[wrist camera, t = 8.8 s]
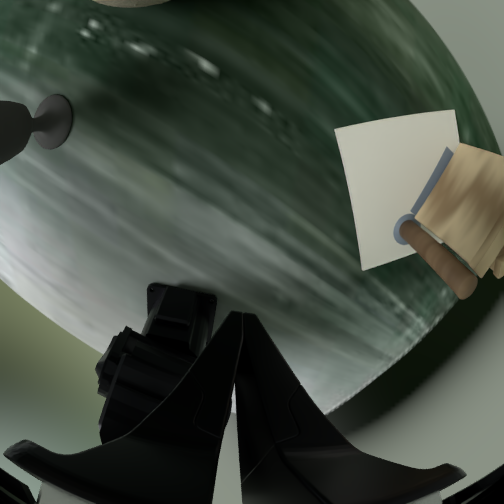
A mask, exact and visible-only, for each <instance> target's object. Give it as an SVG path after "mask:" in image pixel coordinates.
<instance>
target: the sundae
mask: <svg viewBox="0 0 504 504" xmlns="http://www.w3.org/2000/svg"><path fill="white" fill-rule="evenodd" d="M71 123H72V112H71V108H70V105H69V103H68V101H67V100H66V99H65V98H64V97H63V96H61V95H51V96H49V97H47V98H46V99H44V100H43V101H42V102H41V104H40V105H39V107H38V108H37V111H36V113H35V115H34V118H32V117H31V115H30V112H29V110H28V109H27V107H26V106H25V105H23V104H20V103H16V102H11V101H0V165H1V164H3V163H4V162H6V161H8V160H10V159H11V158H13V157H14V156H16V155H17V154H19V153H20V152H21V151H22V150H23V149H24V148H25V147H26V145H27V143H28V140H29V138H30V136H31V133H32V132H33V133H34V136H35V139H36V141H37V142H38V143H39V145H41V146H42V147H43V148H45V149H54V148H57V147H58V146H60V145H61V144H62V143H63V142H64V140H65V139H66V137H67V135H68V133H69V131H70V127H71Z"/></svg>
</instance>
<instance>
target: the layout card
mask: <svg viewBox="0 0 504 504" xmlns="http://www.w3.org/2000/svg"><path fill="white" fill-rule="evenodd" d="M334 130H335V134H336V138H337V142H338V146H339V150H340V154H341V158H342V162H343V166H344V170H345V175H346V179H347V184H348V189H349V194H350V199H351V204H352V209H353V215H354V220H355V226H356V232H357V238H358V245H359V252H360V259H361V267H362V270H363V271H364V270H367V269H370V268H373V267H376V266H379V265H382V264H385V263H388V262H391V261H394V260H397V259H400V258H402V257H405V256H408V255H411V254H414V253H416V251H415V250H414V249H413V248H412V247H411V246H410V245H409V244H408V243H407V242H406V241H405V240H404V239H403V238H402V237H401V236H400V234H399V228H400V226H401V224H402V223H403V222H404V221H406V220H412V221H413V222H415V223H416V224H417V225H418V226H420V227H421V228H422V229H423V230H424V231H426V232H427V233H428V234H429V235H431V236H432V237H433V238H434V239H435V240H436V241H438V242H439V243H440V244H441V243H443V241H442V240H441V239H439V238H438V237H437V236H436V235H434V234H433V233H432V232H431V231H430V230H428V229H427V228H426V227H425V226H423V225H422V224H421V223H420V222H418V221H417V220H416V219H415V218H414V217H415V216H416V214H417V213H418V212H419V210H420V209H421V207H422V206H423V204H424V202H425V201H426V199H427V198H428V196H429V195H430V193H431V192H432V190H433V188H434V187H435V185H436V184H437V182H438V180H439V179H440V177H441V175H442V174H443V172H444V170H445V169H446V167H447V165H448V163H449V162H450V160H451V158H452V156H453V155H454V153H455V151H456V149H457V147H458V146H459V144H460V143H459V135H458V128H457V122H456V116H455V111H454V110H444V111H435V112H426V113H419V114H411V115H405V116H398V117H392V118H386V119H381V120H375V121H370V122H365V123H360V124H355V125H350V126H346V127H341V128H337V129H334Z"/></svg>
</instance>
